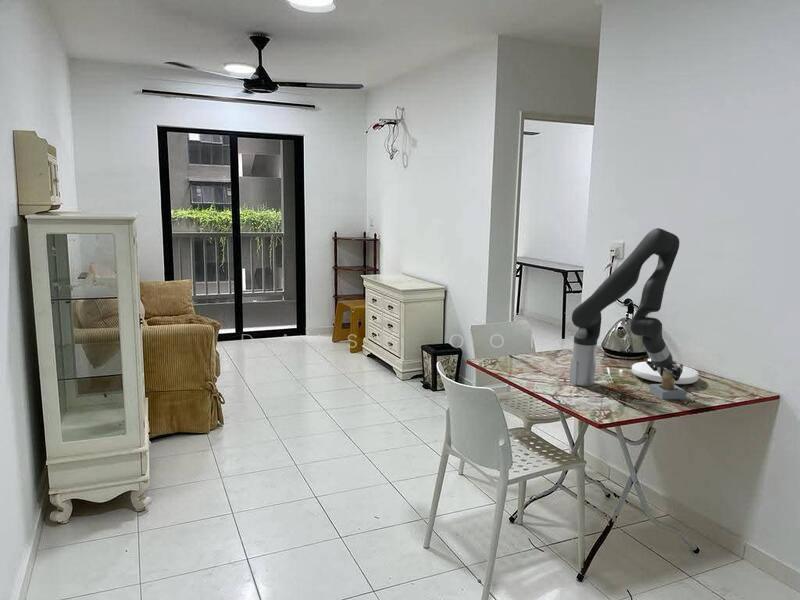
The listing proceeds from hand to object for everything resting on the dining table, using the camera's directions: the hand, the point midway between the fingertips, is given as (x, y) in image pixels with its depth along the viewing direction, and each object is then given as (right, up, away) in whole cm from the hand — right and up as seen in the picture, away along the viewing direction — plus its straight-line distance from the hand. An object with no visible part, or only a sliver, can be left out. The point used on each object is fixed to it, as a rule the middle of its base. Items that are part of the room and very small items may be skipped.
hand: (670, 377), depth 229 cm
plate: (+7, -4, +22) cm, 23 cm away
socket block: (-1, -7, 0) cm, 7 cm away
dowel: (-2, -6, 0) cm, 6 cm away
